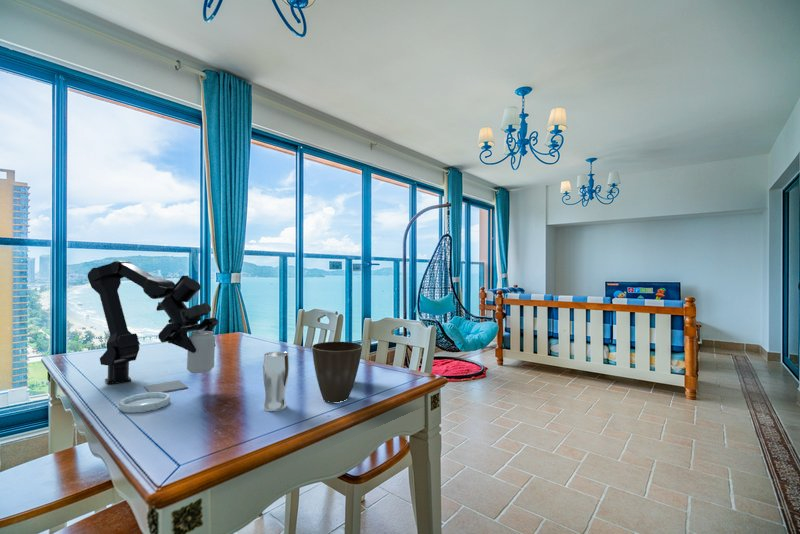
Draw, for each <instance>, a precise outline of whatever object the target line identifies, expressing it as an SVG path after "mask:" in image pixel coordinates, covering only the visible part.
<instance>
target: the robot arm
mask: <svg viewBox="0 0 800 534" xmlns="http://www.w3.org/2000/svg"><path fill="white" fill-rule="evenodd" d="M123 278H125V279H127V280H129V281H131V282H133V283H134V284H136V285H137V286H139V287H141V288H142V290H143V292H144V294H145V295H147V296H148V297H149V298H150V299H152V300H158V299H161V300H162V301H160V302H159V301H158V302H157V305H156V311H157V312H160V311H164V312H165V313H166V314H167V316H168V318H169V319H168V320H167V321H168V323H167V324H166V325H165V326H164V328H162V329H161V331H160V332H158V337H157V338H158V340H159V341H160V343H168V344H172V345H175V346H176V347H180V348H182V349H184V350H186V351H187V352H188V351H190V352H192V353H195V352H196V349H195V347H194V345H193V344H192V342H191V340H190V339H189V337H190V336H189V335H188V333H192V332H197V331H211V332H213V333H214V331H213V330H214V329H215V327H217V325H218V324H219V323H220V322H219V320H218V319H217V318H216V317H214V316H213V317H206V318H204V319H203V320H202V317H203V316H206V315H209V314H210V312H211V310H212V307H211V305H210V304H208V302H202V303H201V304H196V305H193V306H191V307H187V304H185V303H189V302H190V301H191V300H192V299H193V298H194V297H195V296H196V295H197V293H199V291H200V290H201V289H202V286H201V284H200V283H199V282H198V281H197V280H195V279H193V278H191V277H189V275H181V277H180V278H179V279H178V281H177V282H176V283H174V282H173V280H169V279H167V278H162V277H157V276H154V275H152V274H150V273H148V272H147V271H145V270H143V269H141V268H140V267H139V266H136V265H134V264H133V262H130V261H128V260H115V261H112V262H111V263H107V264H104V265H100V266H97V267H93V268H91V269H90V271H88V273H87V280H88V282H89V284H90V287H91V289H93V290H94V291H95V293H98V295H99V299H100V301H101V305H102V309H103V313H104V317H105V321H106V325H107V328H108V332H109V336H108V339H107V342H106V344H105V345H106V350H105V352H104V353H103V354H102V355H101V356H100V357H99V362H100V363H99V364H100V365H101V366H107V378H104V382H105V384H106V385H113V384H118V383H119V384H120V383H125V382H131V381H132V378H131V377H130V376H129V375H130V362H132V361H134V362H135V361H136V360H137V357H138V354H139V351H140V345H141V343H140V342H139V341H140V340H139V337H138V334H137V333H136V332H135V333H132V332H130V331H129V329H128V326H127V321H126V317H125V314H124V311H123V307H122V306H123V305H122V303H121V299H120V296H119V295H120V294H119V292H118V291H119V289H120V286H121V284H122V281H121V280H122V279H123ZM201 320H202V321H201ZM200 321H201V322H200ZM198 322H200V323H198ZM215 347H216V344H215Z"/></svg>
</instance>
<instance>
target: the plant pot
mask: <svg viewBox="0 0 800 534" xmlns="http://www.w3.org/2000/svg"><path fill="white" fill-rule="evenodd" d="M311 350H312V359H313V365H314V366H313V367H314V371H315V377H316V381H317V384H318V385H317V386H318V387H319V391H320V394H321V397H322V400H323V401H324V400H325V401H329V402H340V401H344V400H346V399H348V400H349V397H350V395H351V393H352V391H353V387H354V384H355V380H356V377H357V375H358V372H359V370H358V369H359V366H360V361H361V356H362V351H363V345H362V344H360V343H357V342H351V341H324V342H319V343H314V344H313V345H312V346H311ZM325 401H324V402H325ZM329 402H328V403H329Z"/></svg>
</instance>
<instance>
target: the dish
mask: <svg viewBox="0 0 800 534" xmlns="http://www.w3.org/2000/svg"><path fill="white" fill-rule="evenodd" d="M170 401H171V394H169V392H164V393H163V392H144V393H138V394H137V393H136V394H133V395H131V396H127V397H124V398H123V399H121V400H119V402H118V403H119V411H120V412H122V413H126V412H127V413H131V414H136V413H137V412H139V413H146V411H147V412H151V410H152V411H155V409H156V410H159V409H162V408H163V407H166V406H168V405H169V404H170ZM161 407H162V408H161Z"/></svg>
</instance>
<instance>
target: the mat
mask: <svg viewBox="0 0 800 534" xmlns="http://www.w3.org/2000/svg"><path fill="white" fill-rule="evenodd" d="M143 388H144V389H145V390H146V392H147V393H149V392H163V393H169V391H170V392H174V390H175V391H179V390H180V389H181V390H185V389H186V388H187V389H189V387H188V385H186V384H185V383H183V382H182V381H181V380H171V381H166V382H159V383H152V384H148V385H143ZM187 389H186V390H187ZM181 390H180V391H181Z"/></svg>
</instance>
